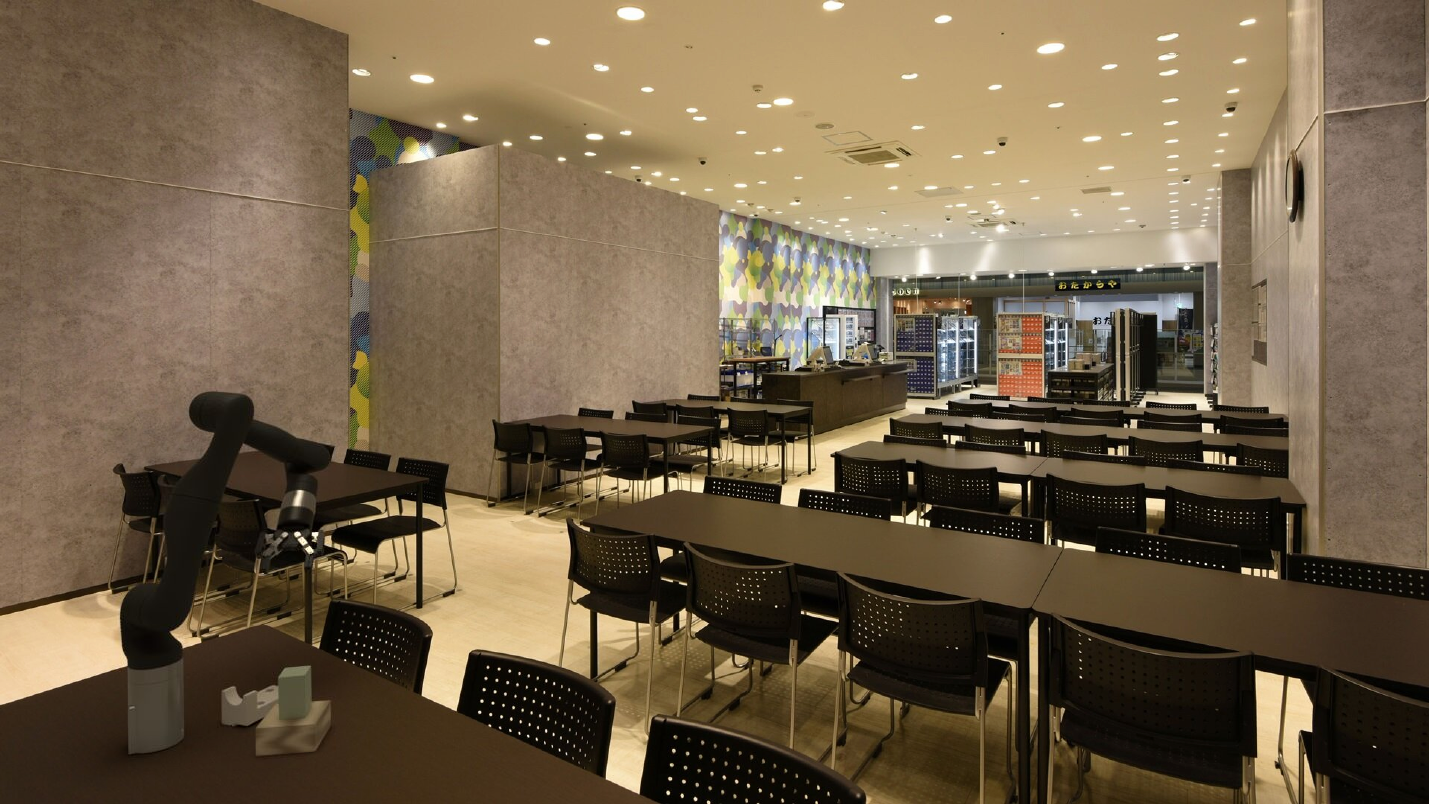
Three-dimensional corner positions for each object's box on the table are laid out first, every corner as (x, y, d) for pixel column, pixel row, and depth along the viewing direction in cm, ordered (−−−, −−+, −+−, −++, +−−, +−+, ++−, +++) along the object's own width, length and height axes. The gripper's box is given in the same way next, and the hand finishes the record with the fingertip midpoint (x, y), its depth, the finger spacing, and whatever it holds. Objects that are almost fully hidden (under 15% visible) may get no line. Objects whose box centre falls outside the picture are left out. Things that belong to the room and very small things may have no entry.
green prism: (278, 720, 155) (278, 677, 154) (285, 709, 160) (284, 667, 159) (305, 717, 156) (305, 675, 156) (311, 706, 161) (310, 665, 160)
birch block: (255, 757, 151) (255, 728, 151) (275, 731, 162) (275, 703, 162) (315, 752, 154) (314, 724, 153) (330, 727, 164) (330, 700, 164)
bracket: (246, 730, 162) (246, 696, 162) (221, 724, 164) (221, 691, 164) (296, 704, 175) (296, 672, 174) (272, 699, 177) (272, 668, 176)
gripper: (261, 505, 180) (247, 565, 169) (327, 503, 184) (317, 561, 174) (267, 522, 185) (254, 581, 175) (331, 520, 189) (322, 578, 179)
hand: (286, 571), depth 174 cm, fingers open, 8 cm apart
